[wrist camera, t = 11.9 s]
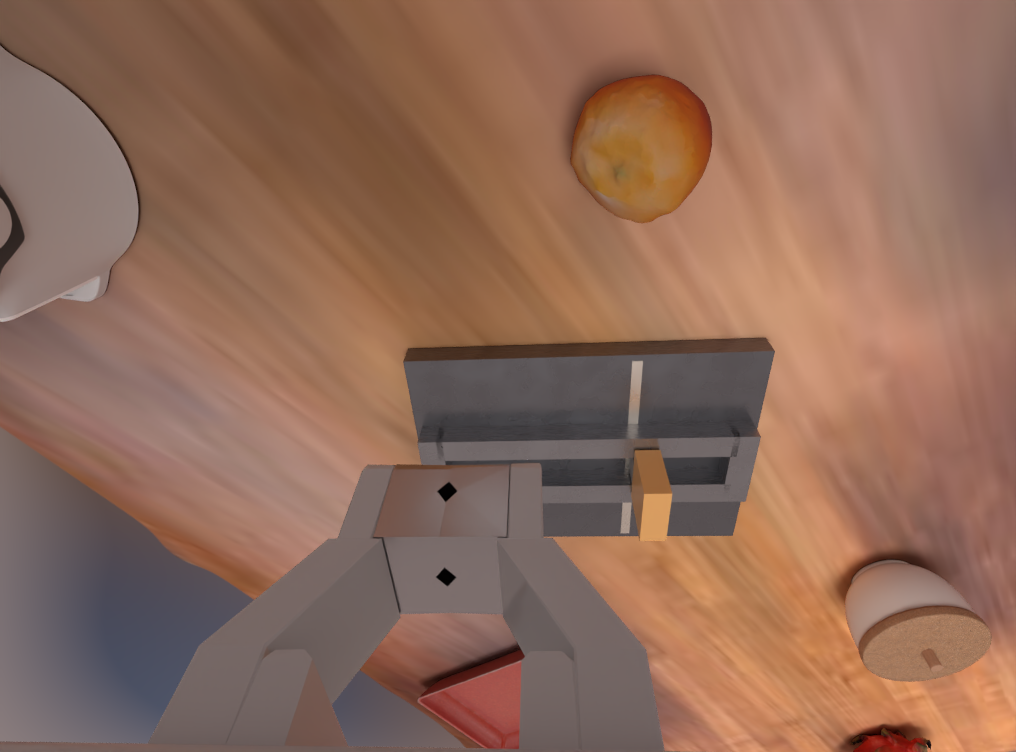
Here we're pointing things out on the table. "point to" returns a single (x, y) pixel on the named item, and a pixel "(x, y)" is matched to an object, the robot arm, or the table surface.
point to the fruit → (642, 146)
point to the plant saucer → (482, 701)
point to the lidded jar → (912, 623)
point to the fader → (650, 494)
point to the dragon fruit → (890, 743)
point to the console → (601, 423)
